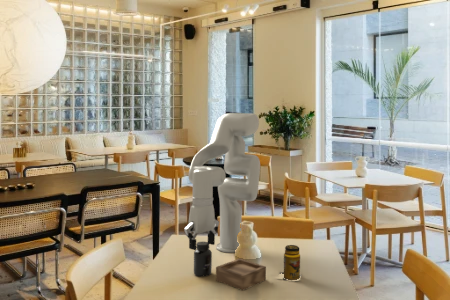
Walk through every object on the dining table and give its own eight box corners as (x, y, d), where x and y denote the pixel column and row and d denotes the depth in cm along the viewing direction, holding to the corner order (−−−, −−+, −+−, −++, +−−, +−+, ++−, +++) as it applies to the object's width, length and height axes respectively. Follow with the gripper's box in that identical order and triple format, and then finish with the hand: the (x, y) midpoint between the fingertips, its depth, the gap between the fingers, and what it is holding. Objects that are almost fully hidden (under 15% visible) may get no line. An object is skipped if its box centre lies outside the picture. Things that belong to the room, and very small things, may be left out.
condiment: (299, 282, 180) (299, 250, 179) (276, 279, 183) (276, 248, 181) (302, 275, 187) (302, 244, 186) (280, 272, 190) (280, 242, 188)
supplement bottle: (209, 277, 184) (209, 246, 183) (191, 276, 185) (191, 245, 184) (213, 271, 191) (213, 241, 189) (196, 269, 192) (196, 240, 191)
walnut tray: (239, 271, 191) (239, 258, 190) (265, 280, 182) (266, 266, 181) (216, 280, 181) (216, 266, 180) (242, 290, 172) (242, 276, 172)
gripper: (211, 197, 193) (211, 240, 195) (178, 203, 181) (178, 249, 182) (225, 200, 188) (224, 244, 190) (192, 206, 176) (192, 253, 177)
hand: (202, 246), depth 186 cm, fingers open, 9 cm apart
